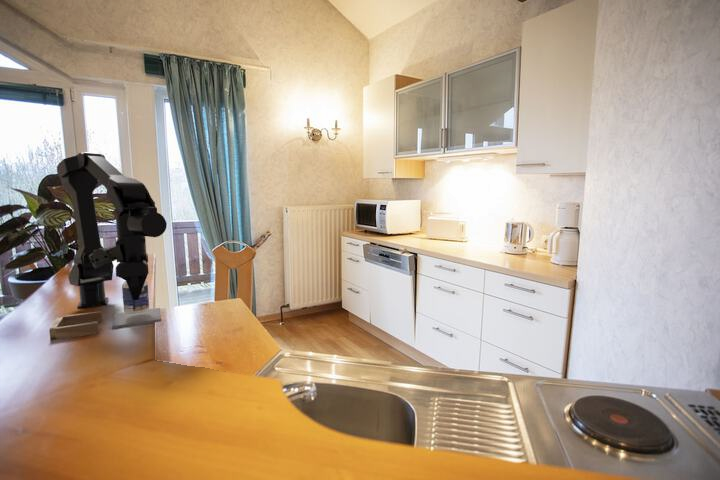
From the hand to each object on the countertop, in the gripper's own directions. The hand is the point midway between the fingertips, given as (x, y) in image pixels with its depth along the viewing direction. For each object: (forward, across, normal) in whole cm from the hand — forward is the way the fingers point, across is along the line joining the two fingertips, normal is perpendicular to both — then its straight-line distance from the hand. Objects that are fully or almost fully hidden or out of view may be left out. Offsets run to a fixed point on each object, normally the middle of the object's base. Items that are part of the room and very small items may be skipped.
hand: (135, 297), depth 90 cm
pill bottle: (+4, 0, 0) cm, 4 cm away
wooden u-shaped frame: (+6, +2, -11) cm, 12 cm away
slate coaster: (+6, 0, 0) cm, 6 cm away
